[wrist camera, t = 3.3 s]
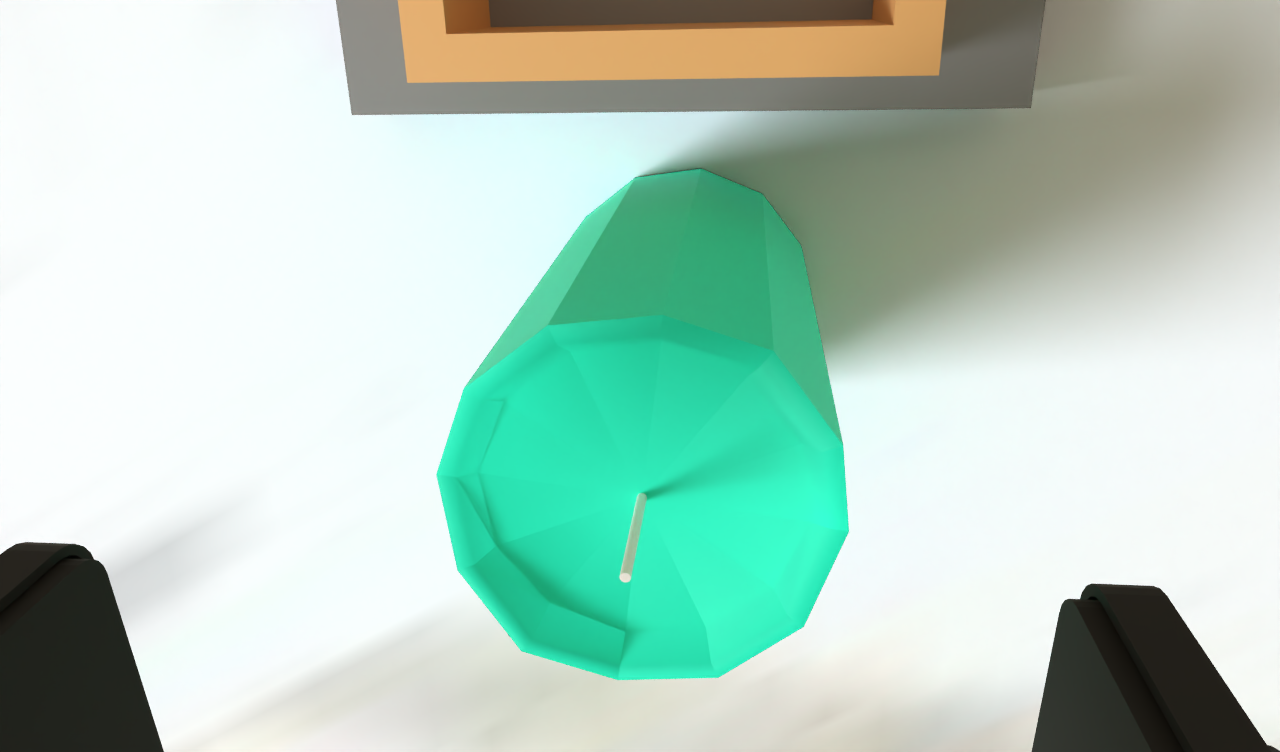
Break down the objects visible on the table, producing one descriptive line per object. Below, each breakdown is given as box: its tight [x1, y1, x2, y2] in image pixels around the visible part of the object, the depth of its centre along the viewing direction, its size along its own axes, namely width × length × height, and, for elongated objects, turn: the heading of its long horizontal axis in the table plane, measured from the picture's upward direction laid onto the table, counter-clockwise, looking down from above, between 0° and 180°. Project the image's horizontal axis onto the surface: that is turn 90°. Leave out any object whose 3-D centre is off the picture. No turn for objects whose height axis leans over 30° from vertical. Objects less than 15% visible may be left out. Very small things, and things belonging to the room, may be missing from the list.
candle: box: [437, 168, 849, 680], centre depth 17 cm, size 6×6×12 cm
